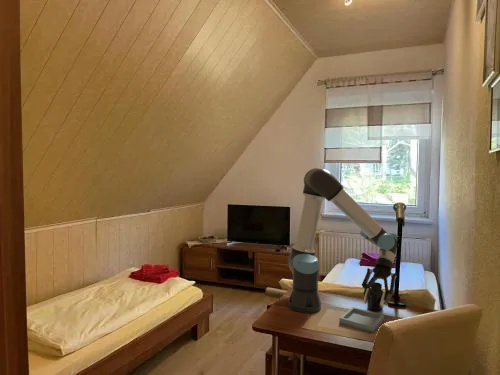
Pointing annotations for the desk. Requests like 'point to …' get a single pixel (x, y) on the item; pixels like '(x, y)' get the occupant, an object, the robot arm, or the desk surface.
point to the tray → (362, 319)
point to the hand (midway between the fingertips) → (372, 304)
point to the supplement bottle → (375, 297)
